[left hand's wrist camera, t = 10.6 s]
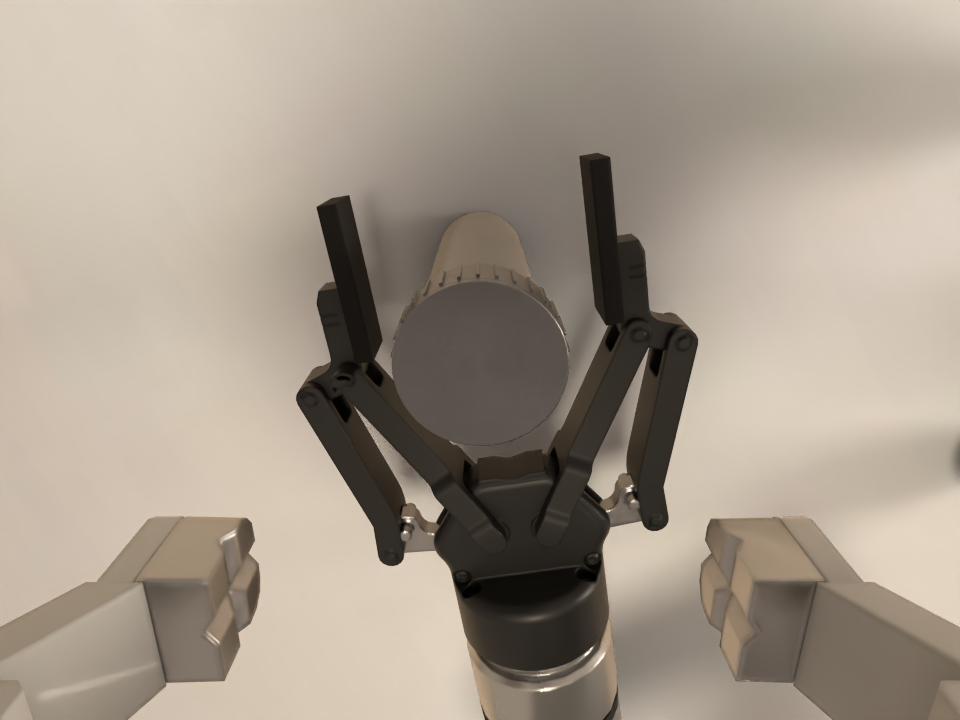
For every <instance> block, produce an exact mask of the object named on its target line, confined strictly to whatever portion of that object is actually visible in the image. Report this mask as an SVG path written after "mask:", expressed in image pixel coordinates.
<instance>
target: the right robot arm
mask: <svg viewBox="0 0 960 720" xmlns="http://www.w3.org/2000/svg"><path fill="white" fill-rule="evenodd" d="M579 157H580V166H581V176H582V186H583V195H584V205H585V214H586V224H587V234H588V243H589V253H590V262H591V272H592V282H593V291H594V301H595V307H596V309H597V311H598V313H599V314H600V316H601V318H602V319H603V321H604V323H605V324H606V325H609V326H608V328H607V330H606V332H605V334H604V337H603V339H602V341H601V343H600V345H599V348H598V350H597V352H596V354H595V357H594V359H593V361H592V363H591V365H590V368H589V370H588V372H587V374H586V376H585V379H584V381H583V383H582V385H581V387H580V390H579V392H578V394H577V396H576V398H575V401H574V403H573V405H572V407H571V409H570V412H569V414H568V416H567V418H566V420H565V423H564V425H563V427H562V429H561V430H558V432H557V433H556V435H555V437H554V440H553V442H552V444H551V446H550V448H549V451H548V453H547V454H542V450H534V451H527V452H524V453H521V454H519V455H516V456H514V457H511V458H506V457H494V456H493V457H486V458H479V459H478V463H477V464H474V463H473V461H472V460H471V459H470V458H469V457H468V456H467V455H466V454H465V453H464V452H463V450H462V449H461V448H460V447H459V446H457V445H452V444H451V443H450V442H449V440H447V439H444V438H442V437H440V436H438V435H436V434H434V433H432V432H431V431H429V430H428V429H426V428H425V427H424V426H422V425H421V424H420V423H419V422H418V421H417V420H416V419H415V418H414V417H413V416H412V415H411V414H410V413H409V411H408V410H407V408H406V407H405V406H404V404H403V402H402V400H401V398H400V397H399V395H398V392H397V389H396V386H395V383H394V380H393V379H392V378H391V377H390V376H389V375H388V374H387V373H386V372H385V371H384V369H383V368H382V367H381V366H380V365H379V364H378V363H377V362H376V361H375V360H374V359H375V357H376V354H377V352H378V350H379V347H380V345H381V343H382V341H383V339H382V335H381V331H380V326H379V322H378V318H377V313H376V309H375V305H374V300H373V296H372V292H371V287H370V283H369V279H368V274H367V270H366V266H365V261H364V257H363V253H362V248H361V244H360V240H359V235H358V231H357V227H356V223H355V218H354V214H353V210H352V205H351V201H350V197H349V195H348V196H342V197H336V198H331V199H330V200H328V201H326V202H324V203H323V204H321V205H319V206H317V211H318V215H319V219H320V223H321V227H322V231H323V235H324V239H325V243H326V247H327V251H328V255H329V259H330V263H331V267H332V271H333V275H334V279H335V282H330V283H326V284H325V285H324V286H323V287H322V288H321V289H320V290H319V291H318V298H317V307H318V311H319V314H320V317H321V322H322V325H323V330H324V333H325V337H326V341H327V345H328V349H329V352H330V356H331V362H329V363H328V364H326V365H324V366H319V367H316V368H314V369H313V370H312V372H311V373H310V375H309V376H308V378H307V379H306V381H305V382H304V384H303V385H302V387H301V388H300V390H299V392H298V393H297V395H296V401H297V404H298V406H299V407H300V409H301V411H302V412H303V414H304V415H305V417H306V419H307V420H308V422H309V423H310V425H311V427H312V428H313V430H314V432H315V433H316V435H317V436H318V438H319V440H320V441H321V443H322V444H323V446H324V448H325V449H326V451H327V453H328V454H329V456H330V457H331V459H332V461H333V462H334V464H335V465H336V467H337V469H338V470H339V472H340V474H341V475H342V477H343V478H344V480H345V482H346V483H347V485H348V486H349V488H350V490H351V491H352V493H353V495H354V496H355V498H356V499H357V501H358V503H359V504H360V506H361V507H362V509H363V511H364V512H365V514H366V516H367V517H368V519H369V520H370V522H371V524H372V525H373V527H374V533H375V539H376V545H377V550H378V556H379V559H380V561H381V562H382V563H383V564H386V565H388V566H395V565H398V564H399V563H401V562H402V560H403V558H404V553H407V552H421V551H436V552H437V554H438V555H439V556H440V557H441V558H442V559H443V560H444V561H445V562H446V563H447V565H448V566H449V568H450V570H451V574H452V578H453V583H454V587H455V591H456V596H457V600H458V605H459V609H460V614H461V618H462V623H463V627H464V632H465V635H466V637H467V646H468V651H469V655H470V659H471V663H472V668H473V672H474V676H475V681H476V685H477V689H478V693H479V698H480V703H481V706H482V710H483V714H484V717H485V720H621V713H620V707H619V700H618V687H617V670H616V662H615V654H614V646H613V638H612V630H611V622H610V619H609V604H608V595H607V587H606V578H605V570H604V561H603V552H602V548H603V543H604V541H605V538H606V536H607V535H608V533H609V530H610V527H614V526H619V525H624V524H629V523H634V522H639V521H642V523H643V525H644V527H645V528H647V529H648V530H651V531H658V530H661V529H663V528H664V527H665V526H666V525H667V523H668V512H667V506H666V500H665V494H664V488H663V487H664V482H665V478H666V474H667V470H668V466H669V462H670V458H671V453H672V449H673V445H674V441H675V437H676V433H677V429H678V424H679V420H680V416H681V412H682V408H683V404H684V400H685V396H686V391H687V387H688V383H689V379H690V375H691V371H692V367H693V362H694V358H695V354H696V350H697V346H698V338H697V336H696V334H695V333H694V332H693V331H692V330H691V329H690V328H689V327H688V326H687V325H686V324H685V323H684V322H683V321H682V319H680V318H679V317H678V316H677V315H676V314H674V313H671V312H670V313H664V314H662V313H656V312H652V311H650V309H649V301H648V287H647V276H646V260H645V251H644V249H643V247H642V245H641V243H640V241H639V240H638V239H637V238H636V237H635V236H633V235H632V234H626V235H620V236H617V230H616V219H615V207H614V196H613V185H612V173H611V162H610V157H608V156H605V155H602V154H599V153H594V154H589V155H583V156H579ZM648 347H649V352H648V357H647V362H646V366H645V371H644V376H643V380H642V385H641V390H640V394H639V399H638V404H637V408H636V413H635V418H634V422H633V427H632V432H631V436H630V441H629V446H628V451H627V462H626V466H627V473H623V474H621V475H619V477H618V480H617V481H616V483H615V489H614V492H613V494H612V495H611V496H610V497H609V498H607V499H604V500H602V498H601V497H600V496H599V495H598V494H597V493H595V492H594V491H593V490H592V489H591V488H590V487H589V486H588V485H587V483H588V481H589V479H590V476H591V472H592V465H593V461H594V459H595V457H596V455H597V453H598V451H599V448H600V446H601V444H602V442H603V440H604V438H605V436H606V434H607V432H608V430H609V428H610V426H611V424H612V422H613V419H614V417H615V415H616V413H617V411H618V409H619V407H620V405H621V403H622V401H623V399H624V397H625V395H626V393H627V391H628V388H629V386H630V384H631V382H632V380H633V378H634V376H635V374H636V372H637V370H638V368H639V366H640V364H641V362H642V359H643V357H644V355H645V353H646V351H647V349H648ZM353 405H354V406H355V407H356V408H357V409H358V410H359V411H360V412H361V413H362V415H363V416H364V417H365V418H366V419H367V420H368V421H369V422H370V423H371V424H372V425H373V426H374V427H375V428H376V429H377V430H378V431H379V432H380V433H381V434H382V436H383V437H384V438H385V439H386V440H387V441H388V442H389V443H390V444H391V445H392V446H393V447H394V448H395V449H396V450H397V451H398V452H399V453H400V454H401V455H402V457H403V458H404V459H405V460H406V461H407V462H408V463H409V464H410V465H411V466H412V467H413V468H414V469H415V470H416V471H417V472H418V473H419V474H420V475H421V476H422V478H423V479H424V480H425V481H426V482H427V483H428V484H429V485H430V487H431V489H432V492H433V494H434V496H435V498H436V499H437V500H438V501H439V502H440V503H441V504H442V505H443V506H444V509H443V511H442V512H441V514H440V516H439V518H438V519H437V522H436V523H433V522H428V521H426V520H425V519H424V518H423V517H422V515H421V513H420V511H419V510H418V509H417V508H416V506H415V504H413V503H408V504H406V502H405V497H404V494H403V491H402V489H401V487H400V485H399V483H398V481H397V479H396V478H395V476H394V474H393V472H392V471H391V469H390V467H389V466H388V464H387V462H386V460H385V459H384V457H383V455H382V454H381V452H380V450H379V448H378V447H377V445H376V443H375V442H374V440H373V438H372V437H371V435H370V433H369V431H368V430H367V428H366V426H365V425H364V423H363V421H362V419H361V418H360V416H359V414H358V413H357V411H356V409H355V407H354V406H353Z"/></svg>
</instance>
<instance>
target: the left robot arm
mask: <svg viewBox="0 0 960 720" xmlns="http://www.w3.org/2000/svg"><path fill="white" fill-rule="evenodd" d="M254 541H255V538H254V533H253V528H252V523H251V522H250V521H249V520H248V519H247V518H226V517H154V518H151V519H148V520H147V521H146V522H145V524H144V525H143V526H142V527H141V528H140V530H139V531H138V532H137V533H136V535H135V536H134V537H133V538H132V539H131V541H130V542H129V543H128V544H127V545H126V547H125V548H124V549H123V550H122V551H121V553H120V554H119V555H118V556H117V558H116V559H115V560H114V561H113V562H112V564H111V565H110V566H109V567H108V568H107V570H106V571H105V572H104V573H103V575H102V576H101V577H100V578H99V579H98V581H97V582H86V583H84V584H82V585H80V586H78V587H76V588H74V589H72V590H70V591H68V592H67V593H65V594H63V595H61V596H59V597H57V598H55V599H53V600H51V601H49V602H47V603H45V604H44V605H42V606H40V607H38V608H36V609H34V610H32V611H30V612H28V613H26V614H24V615H23V616H21V617H19V618H17V619H15V620H13V621H11V622H9V623H7V624H5V625H3V626H1V627H0V720H128V719H129V718H130V717H131V716H132V715H134V714H135V713H136V712H137V711H138V710H139V709H140V708H142V707H143V706H144V705H145V704H146V703H147V702H148V701H150V700H151V699H152V698H153V697H154V696H155V695H156V694H158V693H159V692H160V691H161V690H162V689H163V688H164V687H166V683H173V682H207V681H224V680H225V678H226V676H227V674H228V672H229V670H230V667H231V665H232V663H233V661H234V659H235V656H236V654H237V652H238V650H239V648H240V641H239V635H238V632H240V631H241V630H242V629H244V628H245V627H246V626H248V625H249V624H250V623H251V621H252V618H253V616H254V614H255V611H256V608H257V603H258V598H259V593H260V572H259V564H258V562H257V561H256V560H255V559H254V558H253V557H252V556H251V555H250V554H249V551H250V549H251V547H252V545H253V543H254ZM705 541H706V543H707V545H708V547H709V549H710V551H711V554H710V555H709V556H708V557H707V558H706V559H705V560H704V561H703V562H702V564H701V573H700V592H701V600H702V604H703V608H704V611H705V614H706V616H707V618H708V621H709V623H710V624H711V625H712V626H714V627H715V628H716V629H718V630H719V631H720V632H722V635H721V641H720V648H721V650H722V652H723V654H724V656H725V659H726V661H727V663H728V665H729V667H730V669H731V672H732V674H733V676H734V678H735V680H736V681H751V682H787V683H794V686H795V687H796V688H797V689H798V690H799V691H801V692H802V693H803V694H804V695H805V696H806V697H807V698H808V699H810V700H811V701H812V702H813V703H814V704H815V705H816V706H818V707H819V708H820V709H821V710H822V711H823V712H824V713H826V714H827V715H828V716H829V717H830V718H831V719H832V720H960V627H958V626H956V625H954V624H953V623H951V622H949V621H947V620H945V619H943V618H941V617H939V616H937V615H935V614H933V613H932V612H930V611H928V610H926V609H924V608H922V607H920V606H918V605H916V604H914V603H912V602H911V601H909V600H907V599H905V598H903V597H901V596H899V595H897V594H895V593H893V592H891V591H890V590H888V589H886V588H884V587H882V586H880V585H878V584H876V583H874V582H863V581H862V579H861V578H860V577H859V576H858V575H857V573H856V572H855V571H854V570H853V569H852V567H851V566H850V565H849V564H848V562H847V561H846V560H845V559H844V558H843V556H842V555H841V554H840V553H839V552H838V550H837V549H836V548H835V547H834V546H833V544H832V543H831V542H830V541H829V540H828V538H827V537H826V536H825V535H824V533H823V532H822V531H821V530H820V529H819V527H818V526H817V525H816V524H815V523H814V521H813V520H812V519H810V518H808V517H806V516H793V517H773V518H727V519H711V520H710V522H709V524H708V527H707V532H706V538H705Z"/></svg>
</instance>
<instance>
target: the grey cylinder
mask: <svg viewBox="0 0 960 720" xmlns="http://www.w3.org/2000/svg"><path fill="white" fill-rule="evenodd" d="M476 262H480V264H487V265H494V263H496V264H498V266H500V267H504V268H507V269H510V270H511V269H512V268H513V269H515V272H517V273H519V274H521V275H522V276H524V277H526V278H527V276H528V277H530V278H531V281H532V282H533V280H532V277H531V274H530V271H529V267H528V264H527V261H526V258H525V255H524V251H523V248H522V245H521V242H520V239H519V236H518V234H517V233H516V231H515V229H514V228H513V227H512V226H511V225H510V224H509V223H508V222H507V221H506V220H505V219H503V218H502V217H500V216H498V215H495V214H492V213H489V212H473V213H469V214H466V215H463V216H461V217H459V218H458V219H456V220H455V221H454V222H453V223H451V225H450V226H449V227H448V228H447V229H446V231H445V233H444V234H443V236H442V239H441V242H440V245H439V248H438V251H437V255H436V258H435V261H434V264H433V267H432V271H431V274H430V277H429V279H430V281H431V280H432V279H434V278H435V277H437V276H439V275H440V274H441V271H443V270H445V272H447V271H449V270H451V269H454V268H458V265H461V264H462V266H466V265H473V264H476Z"/></svg>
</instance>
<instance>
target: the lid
mask: <svg viewBox="0 0 960 720" xmlns="http://www.w3.org/2000/svg"><path fill="white" fill-rule="evenodd" d="M564 335H566V331H565V329H564V326H563V324H562V321H561V319H560V316H558V313H557V311H556V308H555V305H554V303H553V301H551V302H550V301H549V300H548V298H547V297H546V295H545V292H544V289H543V288H542V287H541V288H540V289H539V288H538V287H537V286H536V285H535V284H534V283H533V282H532V281H531V278H530V277H528V276H527V278H526V277H524V276H522V275H521V274H519V273H517V272H515V269H513V268H512V269H511V270H510V269H507V268H504V267H500V266H498V264H496V263H494V265H487V264H480V262H476V264H473V265H466V266H462V264H461V265H458V268H454V269H451V270H449V271H447V272H445V270H443V271H441V274H440V275H439V276H437V277H435V278H434V279H432V280H431V281H430V279H428V280H427V281H426V284H425V286H424V287H423V288H422V289H421V290H420V291H419V292H417V291H416V292H415V293H414V295H413V298H412V301H411V303H410V305H409V306H408V305H406V307H405V309H404V312H403V314H402V317H401V319H400V322H399V325H398V327H397V330H396V332H395V335H394V338H393V340H395V344H394V348H393V350H392V353H391V357H392V372H393V378H394V383H395V386H396V389H397V392H398V395H399V397H400V398H401V400H402V402H403V404H404V406H405V407H406V408H407V410H408V411H409V413H410V414H411V415H412V416H413V417H414V418H415V419H416V420H417V421H418V422H419V423H420V424H421V425H422V426H424V427H425V428H426V429H428V430H429V431H431V432H432V433H434V434H436V435H438V436H440V437H442V438H444V439H447V440H449V441H452V442H455V443H460V444H464V445H473V446H489V445H496V444H501V443H505V442H509V441H512V440H514V439H517V438H519V437H521V436H523V435H525V434H527V433H529V432H530V431H532V430H533V429H535V428H536V427H538V426H539V425H540V424H541V423H542V422H543V421H544V420H545V419H546V418H547V417H548V416H549V415H550V414H551V413H552V411H553V410H554V409H555V407H556V405H557V404H558V402H559V401H560V399H561V396H562V394H563V392H564V389H565V386H566V383H567V378H568V373H569V355H568V352H570V349H569V346H568V344H567V341H566V338H565V336H564Z"/></svg>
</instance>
